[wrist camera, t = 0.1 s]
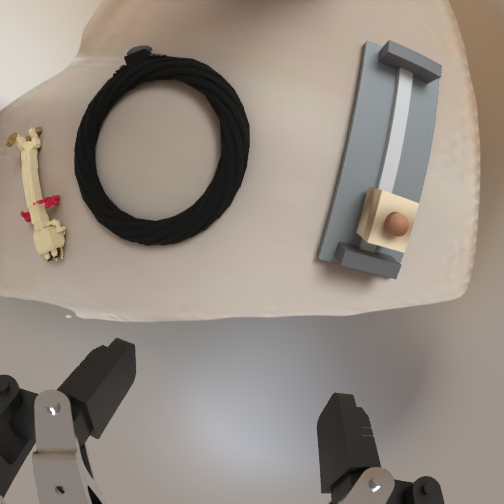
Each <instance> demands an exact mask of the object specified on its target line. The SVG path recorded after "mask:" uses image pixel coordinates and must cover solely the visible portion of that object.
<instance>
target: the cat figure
mask: <svg viewBox="0 0 504 504" xmlns="http://www.w3.org/2000/svg"><path fill="white" fill-rule="evenodd" d="M29 134H30V136H27V137H26V138H25V137H20V136H19V134H17V133H13V134H11V135H10V136H9V137H8V138H7V140H6V145H7V146H8V147H11V146H12V145H13V144H14V142H15V144H17V146H18V147H19V149H20V150H21V159H22V169H21V170H22V178H23V185H24V191H25V197H26V203H27V208H28V209H29V212H26V213H24V212H23V211H22V212H21V215H22V216H23V217H24V218H25V220H26V221H27V222H30V221H32V225H34V229H35V232H34V234H33V237H34V238H33V239H34V243H35V246H36V250H37V253H38V254H40V255H43V254H44V258H45V259H46V260H48V261H50V260H52V258H53V257H55V261H56V262H57V261H58V260H57V258H58V257H61V260H62V259H63V254H64V251H63V248H62V247H63V246H64V242H65V240H64V236H63V235H65V232H66V231H64V230H66V227H65V226H62V227H61V226H60V222H59V221H58V220H56V219H53V220H51V221H50V220H49V216H48V214H47V212H46V208H45V207H47V208H49V207H51V205H52V204H53V206H56V205H58V204H59V202H58V200H59V198H60V196H58V195H55V196H52V197H51V198H50V197H47V198H44V199H43V198H42V193H41V188H40V182H39V176H38V170H39V168H38V160H37V155H38V151H37V149H38V148H39V147H40V146H41V143H40V139H39V138H38V135H40V134H41V127H37V128H31V129H30V130H29ZM31 137H32V141H31ZM45 202H46V205H45ZM51 225H55V226H51ZM50 226H51V227H50ZM62 231H63V232H64V233H63V232H62Z"/></svg>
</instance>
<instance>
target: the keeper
mask: <svg viewBox="0 0 504 504" xmlns="http://www.w3.org/2000/svg"><path fill="white" fill-rule="evenodd" d="M418 206H419V203H417V202H414V201H411V200H409V199H406V198H403V197H400V196H398V195H395V194H392V193H389V192H386V191H383V190H380V189H376V188H371V187H368V191H367V195H366V199H365V202H364V206H363V210H362V213H361V217H360V220H359V224H358V227H357V231H356V233H358V234H359V235H360V236H361V237H362V238H363V239H364V240H365V241H367V242H368V243H372V244H375V245H379V246H382V247H386V248H389V249H393V250H396V251H400V252H403V253H404V252H405V249H406V246H407V243H408V240H409V237H410V233H411V230H412V227H413V223H414V220H415V217H416V213H417V209H418Z"/></svg>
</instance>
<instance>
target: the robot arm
mask: <svg viewBox="0 0 504 504" xmlns="http://www.w3.org/2000/svg"><path fill="white" fill-rule="evenodd" d="M135 375H136V358H135V345H134V344H132V343H129V342H127V341H124V340H121V339H119V338H116V339H115V340H114V341H113V342H112V343H111V344H110V345H109V346H108V347H106V346H104V345H102V346H100V347H98V348H96V349H94V350H92V351H91V352H90V353H89V354H88V355H87V357H86V358H85V360H83V361H82V362H81V363H80V365H79V366H78V367H77V368H76V369H75V370H74V371H73V372H72V373H71V375H70V376H69V377H68V378H67V379H66V380H65V381H64V382H63V384H62V385H61V386H60V387H59V388H58V389H57V390H46V391H43V392H41V393H40V394H36V393H33V392H29V391H26V390H23V389H20V388H19V386H18V384H17V382H16V380H15V379H14V378H13V377H11V376H9V375H0V504H6V503H5V501H4V499H3V498H4V496H5V494H6V492H7V491H8V489H9V487H10V485H11V483H12V481H13V480H14V478H15V476H16V474H17V473H18V471H19V469H20V467H21V466H22V464H23V462H24V461H25V459H26V457H27V456H28V454H29V452H30V451H31V449H32V447H33V446H34V444H35V443H36V445H37V451H36V452H33V455H32V462H33V469H34V476H35V482H36V488H37V493H38V498H39V502H40V504H105V502H104V499H103V496H102V494H101V492H100V489H99V487H98V485H97V482H96V479H95V476H94V472H93V469H92V465H91V461H90V458H89V454H88V449H87V445H86V440H87V439H88V437H89V436H92V437H94V438H96V439H99V438H100V436H101V434H102V433H103V431H104V429H105V428H106V426H107V424H108V423H109V421H110V419H111V418H112V416H113V414H114V413H115V411H116V410H117V408H118V406H119V405H120V403H121V401H122V400H123V398H124V397H125V395H126V394H127V392H128V390H129V389H130V387H131V386H132V384H133V382H134V379H135ZM317 436H318V448H319V462H320V477H321V493H331V498H332V499H331V500H330V501H329V502H328V503H327V504H444V500H443V495H442V492H441V487H440V485H439V483H438V482H437V481H436V480H435V479H434V478H432V477H429V476H424V477H421V478H419V479H417V480H416V481H415V482H414V483H412V482H405V481H400V480H395V479H394V478H393V476H392V475H391V473H390V472H388V471H387V470H386V469H383V468H381V465H380V460H379V456H378V453H377V448H376V444H375V440H374V437H373V432H372V429H371V424H370V421H369V417H368V415H367V414H366V413H365V411H364V410H363V409H362V408H361V407H356V403H355V399H354V396H353V395H352V394H341V393H334V394H333V395H332V396H331V398H330V400H329V401H328V403H327V405H326V406H325V408H324V410H323V411H322V413H321V415H320V416H319V419H318V423H317Z"/></svg>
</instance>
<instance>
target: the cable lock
mask: <svg viewBox="0 0 504 504" xmlns="http://www.w3.org/2000/svg"><path fill="white" fill-rule="evenodd" d="M151 51H152V48H151V47H149V46H138V47H134V48H132V49H130V50H129V51H128V53H127V55H128V56H125V57H124V58H125V61H126V64H127V65H122V66H121V67H120V69H119V70H117V71H116V73H114V74H113V77H112V78H111V79H109V80H108V81H107V82H106V83H105V85H104V86H103V87H102V88H101V90H100V91H99V92H98V93H97V94H96V96H95V97H94V98H93V100H92V101H91V102H90V104H89V105H88V108H87V110H86V112H85V114H84V116H83V118H82V121H81V123H80V126H79V129H78V132H77V137H76V143H75V150H74V151H75V158H74V165H75V175H76V178H77V181H78V184H79V188H80V191H81V195H82V198H83V200H84V201H85V203H86V204H87V206H88V207H89V209H90V210H91V211H92V213H93V214H94V216H95V217H96V219H97V220H98V222H99V223H101V224H102V225H104V226H105V227H106V228H108V229H109V230H110V231H112V232H113V233H114V234H116V235H117V236H119V237H120V238H122V239H125V240H128V241H131V242H137V243H139V244H143V245H147V246H149V245H168V244H174V243H178V242H181V241H183V240H185V239H187V238H190V237H193V236H195V235H196V234H198V233H200V232H202V231H204V230H205V229H207V228H208V227H209V226H210V225H211V224H212V223H213V222H214V221H215V220H216V219H218V218H219V217H220V216H221V215H222V214H223V213H224V211H225V210H226V209H227V208H228V207H229V206H230V205H231V203H232V201H233V199H234V197H235V195H236V193H237V191H238V189H239V188H240V186H241V183H242V180H243V177H244V174H245V171H246V168H247V161H248V153H249V147H250V130H249V123H248V120H247V117H246V114H245V111H244V107H243V105H242V103H241V101H240V99H239V97H238V95H237V94H236V92H235V90H234V89H233V87H232V86H231V85H230V84H229V83H228V82H227V81H226V80H225V79H224V78H223V77H222V76H221V75H220V74H218V73H217V72H216V71H214V70H213V69H212V68H210V67H209V66H208V65H206V64H204V63H201V62H199V61H197V60H194V59H189V58H178V57H169V56H166V55H160V54H152V53H151ZM154 80H178V81H182V82H184V83H186V84H188V85H190V86H192V87H194V88H196V89H197V90H199V91H200V92H201V93H203V94H204V95H205V96H206V98H207V99H208V101H209V102H210V104H211V106H212V107H213V109H214V111H215V113H216V114H217V116H218V118H219V121H220V127H221V143H222V148H221V158H220V161H219V164H218V167H217V170H216V173H215V176H214V179H213V180H212V182H211V183H210V185H209V186H208V188H207V190H206V191H205V193H204V194H203V195H202V196H201V197H200V198H199V199H198V200H197V201H196V203H195V204H194V205H192V206H191V207H190V208H188V209H187V210H185V211H183V212H182V213H180V214H178V215H176V216H173V217H170V218H167V219H162V220H158V221H153V220H145V219H138V218H135V217H133V216H131V215H129V214H127V213H125V212H123V211H121V210H120V209H119V208H118V207H117V206H116V205H115V204H114V203H113V202H112V201H111V200H110V199H109V198H108V196H107V195H106V194H105V192H104V190H103V187H102V185H101V183H100V181H99V178H98V175H97V169H96V163H95V146H96V142H97V138H98V134H99V130H100V127H101V124H102V122H103V120H104V118H105V117H106V115H107V114H108V112H109V110H110V109H111V108H112V106H113V105H114V104H115V103H116V102H117V100H118V99H120V98H121V97H122V96H123V95H124V94H125V93H127V92H128V91H130V90H131V89H133V88H135V87H136V86H138V85H140V84H141V83H144V82H149V81H154Z"/></svg>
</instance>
